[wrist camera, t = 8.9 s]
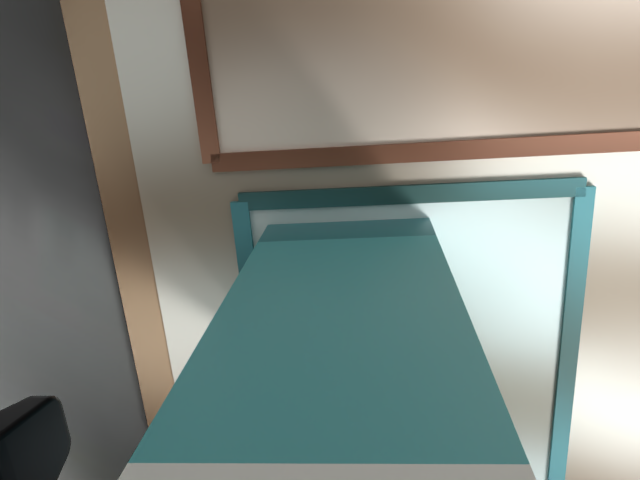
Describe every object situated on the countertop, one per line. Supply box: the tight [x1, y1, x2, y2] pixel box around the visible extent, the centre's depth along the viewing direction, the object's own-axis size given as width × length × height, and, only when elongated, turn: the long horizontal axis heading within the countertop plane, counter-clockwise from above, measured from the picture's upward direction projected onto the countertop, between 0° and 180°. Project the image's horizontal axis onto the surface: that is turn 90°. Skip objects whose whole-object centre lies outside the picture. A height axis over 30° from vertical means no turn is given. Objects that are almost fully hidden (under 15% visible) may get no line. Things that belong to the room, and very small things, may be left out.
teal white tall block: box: [118, 218, 536, 480], centre depth 8 cm, size 4×4×8 cm
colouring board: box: [60, 0, 640, 480], centre depth 12 cm, size 18×15×1 cm
